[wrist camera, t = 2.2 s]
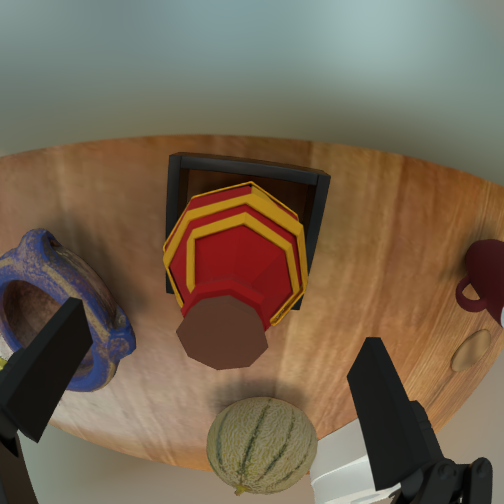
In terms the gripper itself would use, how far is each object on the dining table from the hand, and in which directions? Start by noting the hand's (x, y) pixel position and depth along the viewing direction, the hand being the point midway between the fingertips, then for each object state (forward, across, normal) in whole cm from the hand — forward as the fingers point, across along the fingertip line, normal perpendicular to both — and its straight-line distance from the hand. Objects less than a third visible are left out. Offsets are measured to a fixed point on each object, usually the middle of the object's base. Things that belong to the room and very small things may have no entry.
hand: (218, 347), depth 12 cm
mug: (+15, +28, 0) cm, 32 cm away
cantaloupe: (+16, +6, -27) cm, 32 cm away
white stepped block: (+15, +29, -40) cm, 52 cm away
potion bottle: (+16, 0, 0) cm, 16 cm away
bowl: (+16, -19, -10) cm, 27 cm away
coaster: (+15, +40, -15) cm, 45 cm away
